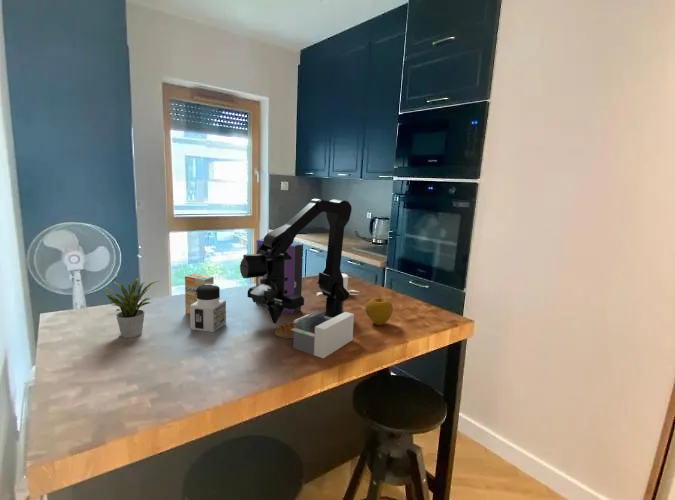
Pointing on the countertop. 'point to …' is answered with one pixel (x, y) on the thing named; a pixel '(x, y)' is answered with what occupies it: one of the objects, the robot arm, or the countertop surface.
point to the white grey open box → (326, 335)
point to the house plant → (130, 309)
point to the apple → (379, 310)
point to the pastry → (286, 330)
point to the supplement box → (194, 288)
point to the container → (208, 309)
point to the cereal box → (289, 272)
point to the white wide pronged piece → (345, 282)
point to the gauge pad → (310, 321)
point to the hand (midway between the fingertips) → (274, 323)
